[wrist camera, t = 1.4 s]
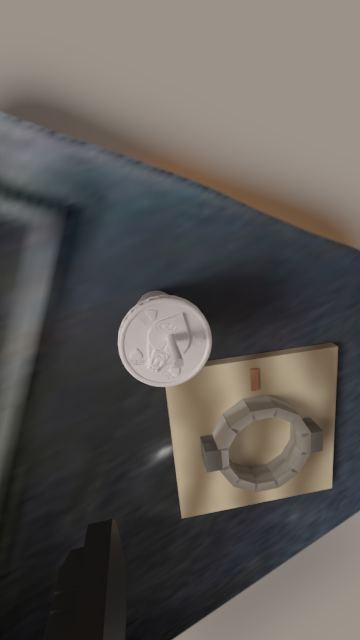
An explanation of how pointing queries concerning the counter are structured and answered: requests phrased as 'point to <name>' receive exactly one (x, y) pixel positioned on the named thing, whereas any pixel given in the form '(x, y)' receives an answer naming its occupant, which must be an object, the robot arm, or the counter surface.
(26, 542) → the counter surface
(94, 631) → the robot arm
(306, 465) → the holder
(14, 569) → the counter surface
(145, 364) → the smoothie
